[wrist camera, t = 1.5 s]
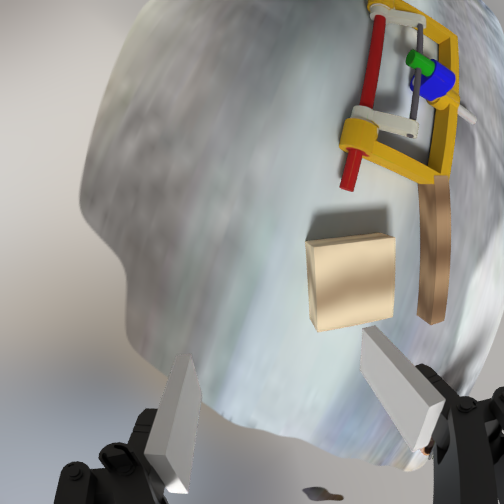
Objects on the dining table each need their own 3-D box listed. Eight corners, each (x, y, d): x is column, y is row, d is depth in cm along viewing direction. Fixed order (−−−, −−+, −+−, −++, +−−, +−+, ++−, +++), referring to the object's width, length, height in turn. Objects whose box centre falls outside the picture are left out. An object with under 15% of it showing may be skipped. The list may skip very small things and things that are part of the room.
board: (417, 176, 29) (433, 175, 26) (431, 176, 29) (448, 175, 26) (416, 314, 33) (430, 325, 29) (429, 310, 33) (444, 320, 29)
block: (304, 240, 30) (313, 247, 27) (378, 232, 31) (395, 237, 27) (308, 316, 32) (317, 332, 28) (377, 304, 32) (392, 317, 28)
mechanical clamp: (345, 181, 23) (382, -30, 17) (324, 184, 29) (365, -7, 24) (477, 240, 25) (489, 42, 19) (445, 232, 31) (465, 54, 25)
